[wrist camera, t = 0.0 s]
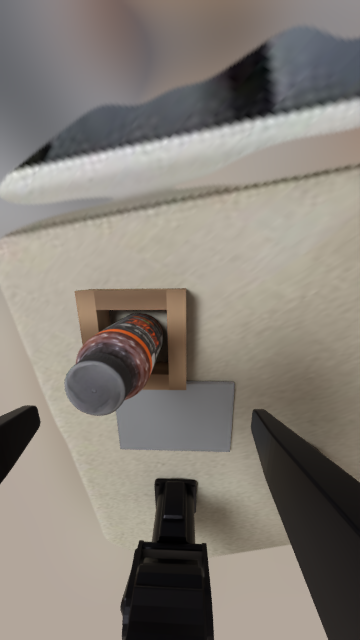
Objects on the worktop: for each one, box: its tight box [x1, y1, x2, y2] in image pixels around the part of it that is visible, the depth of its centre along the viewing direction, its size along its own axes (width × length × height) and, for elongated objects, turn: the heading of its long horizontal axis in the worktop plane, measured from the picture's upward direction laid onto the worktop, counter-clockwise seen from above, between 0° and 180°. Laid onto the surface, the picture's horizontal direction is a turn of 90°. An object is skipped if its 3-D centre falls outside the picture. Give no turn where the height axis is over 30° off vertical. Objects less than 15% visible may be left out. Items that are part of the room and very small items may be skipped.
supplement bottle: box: [64, 313, 163, 416], centre depth 16 cm, size 6×6×11 cm
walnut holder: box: [75, 288, 186, 390], centre depth 20 cm, size 12×12×3 cm
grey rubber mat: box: [116, 381, 235, 452], centre depth 24 cm, size 11×16×1 cm
